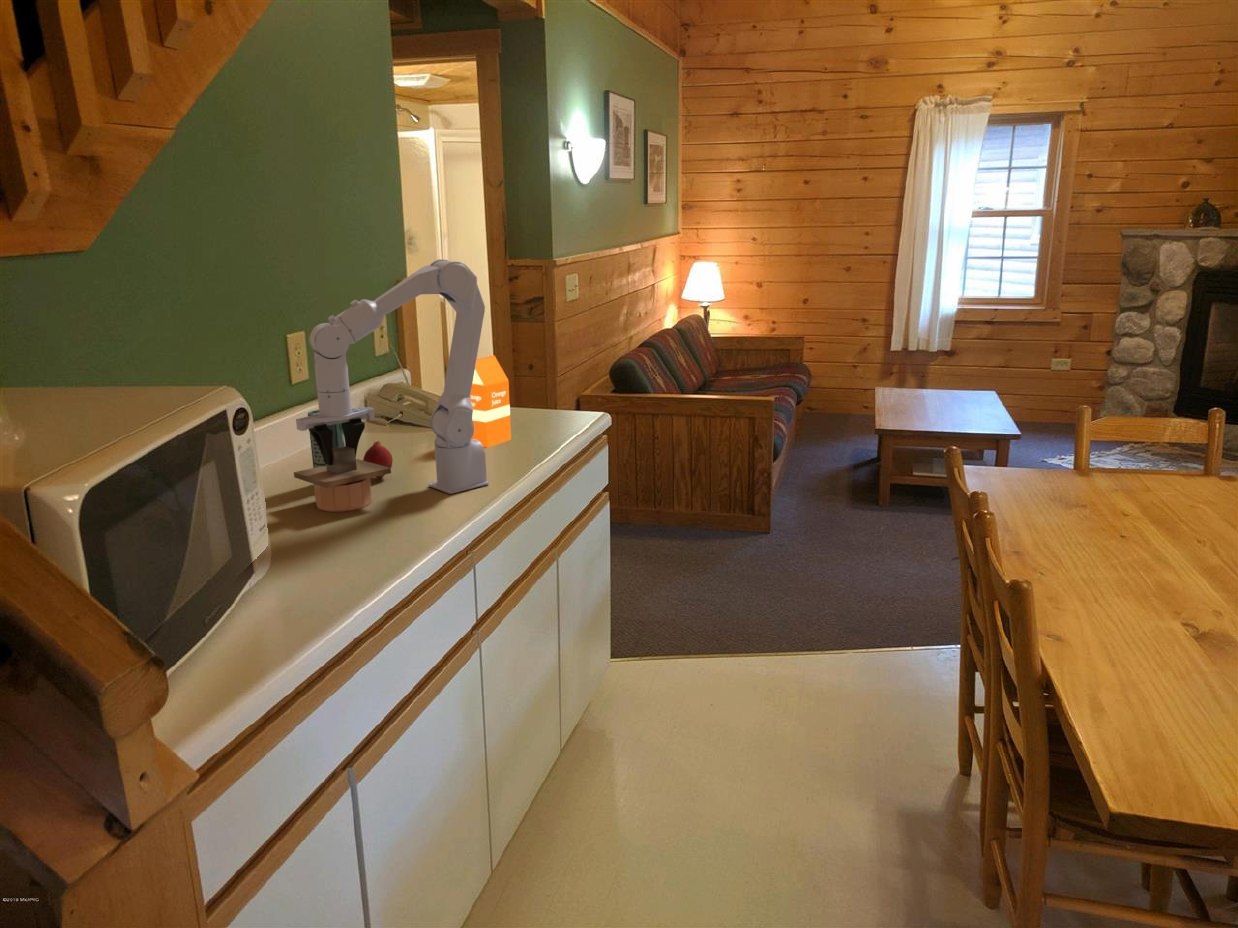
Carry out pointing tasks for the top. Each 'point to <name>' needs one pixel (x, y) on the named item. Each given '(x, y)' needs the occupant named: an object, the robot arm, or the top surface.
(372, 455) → the onion
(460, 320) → the robot arm
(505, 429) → the orange juice
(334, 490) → the pot
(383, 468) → the lid
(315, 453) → the can
